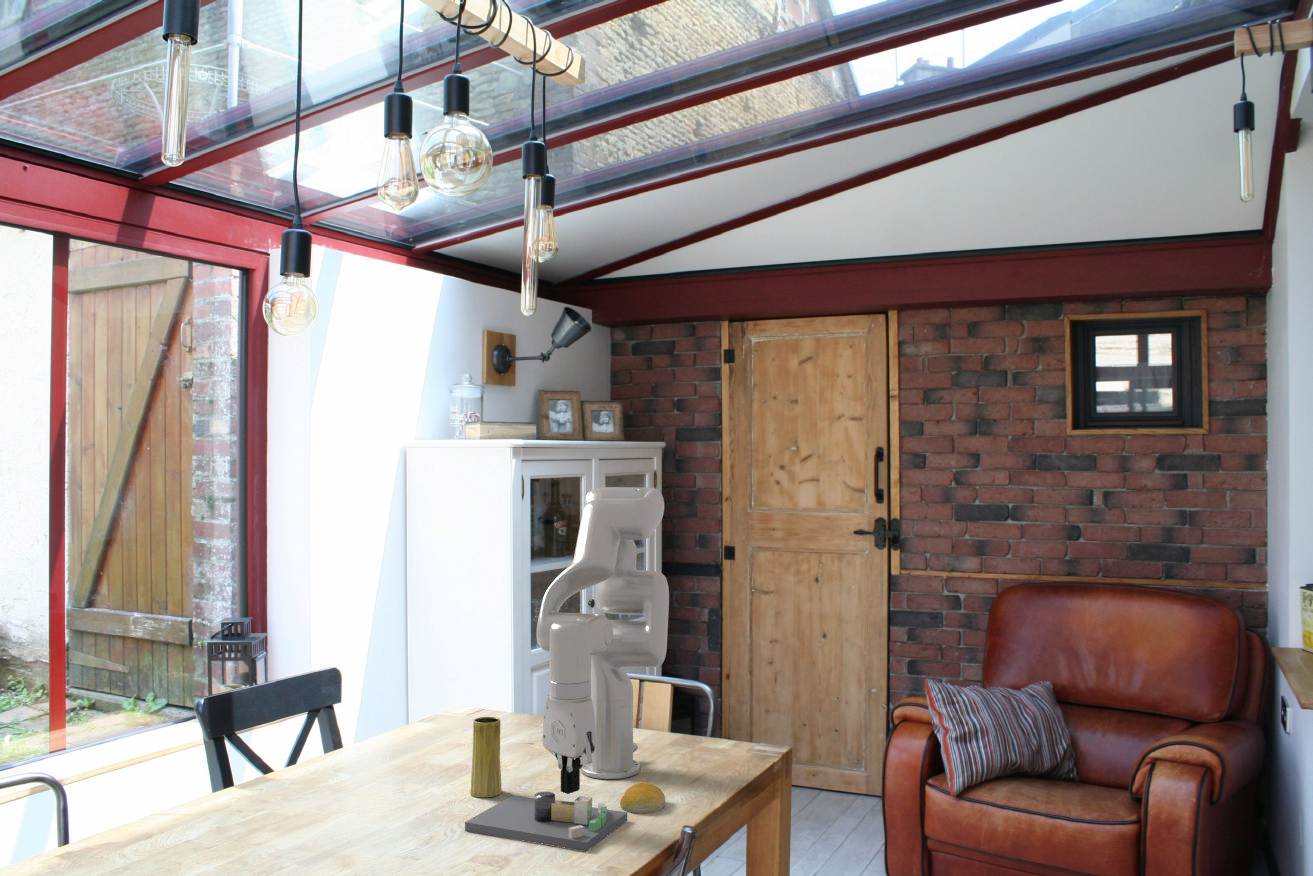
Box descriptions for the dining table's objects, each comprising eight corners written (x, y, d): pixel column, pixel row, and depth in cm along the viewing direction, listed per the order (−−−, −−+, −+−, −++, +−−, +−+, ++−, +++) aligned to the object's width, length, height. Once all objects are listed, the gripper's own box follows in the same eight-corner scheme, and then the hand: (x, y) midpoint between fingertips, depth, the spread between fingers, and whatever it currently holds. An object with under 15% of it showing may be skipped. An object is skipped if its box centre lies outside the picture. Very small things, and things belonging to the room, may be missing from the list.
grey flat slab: (512, 803, 187) (513, 787, 187) (627, 821, 177) (627, 804, 177) (464, 830, 172) (465, 813, 172) (586, 851, 163) (586, 833, 163)
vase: (495, 799, 189) (495, 724, 190) (465, 797, 190) (466, 722, 191) (506, 789, 195) (506, 717, 196) (477, 787, 196) (478, 715, 197)
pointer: (531, 820, 173) (531, 797, 173) (539, 813, 176) (539, 791, 176) (586, 826, 170) (586, 802, 170) (593, 819, 173) (593, 796, 173)
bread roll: (616, 814, 182) (616, 792, 182) (627, 798, 191) (627, 777, 191) (660, 817, 180) (660, 794, 180) (669, 801, 189) (669, 780, 189)
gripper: (528, 686, 181) (528, 786, 180) (582, 700, 170) (582, 807, 170) (559, 679, 186) (559, 777, 186) (613, 693, 176) (613, 796, 175)
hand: (570, 791), depth 178 cm, fingers closed
